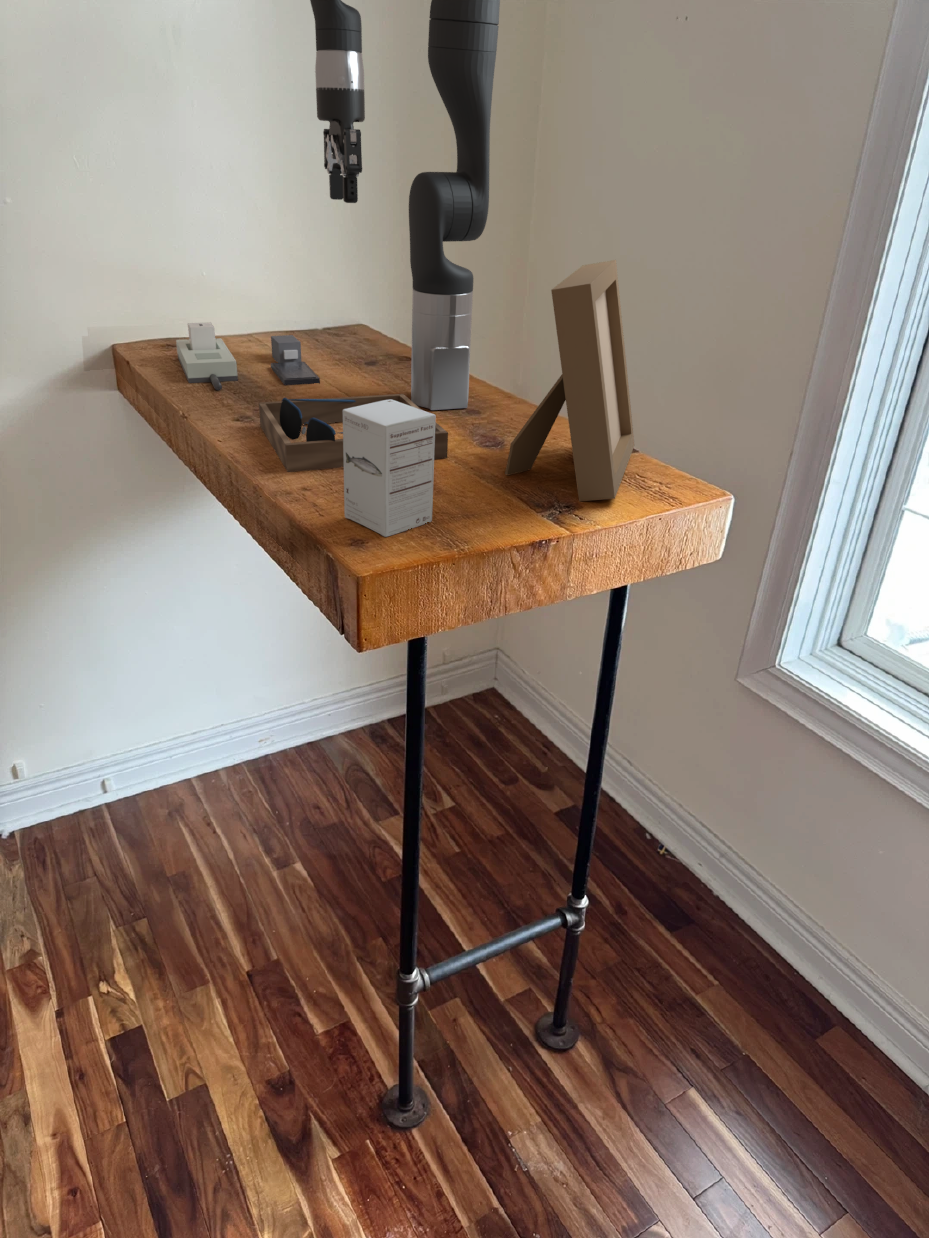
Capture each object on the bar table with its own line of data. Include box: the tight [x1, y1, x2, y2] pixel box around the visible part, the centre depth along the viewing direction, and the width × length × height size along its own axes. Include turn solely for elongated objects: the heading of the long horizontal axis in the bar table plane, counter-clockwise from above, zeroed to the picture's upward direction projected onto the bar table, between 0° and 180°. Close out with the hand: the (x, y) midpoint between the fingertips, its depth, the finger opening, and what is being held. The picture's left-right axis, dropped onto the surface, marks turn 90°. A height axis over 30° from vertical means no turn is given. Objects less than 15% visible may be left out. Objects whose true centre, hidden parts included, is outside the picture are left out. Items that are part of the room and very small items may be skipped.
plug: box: [270, 334, 302, 363], centre depth 162 cm, size 7×4×4 cm, turn 24°
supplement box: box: [342, 399, 437, 538], centre depth 97 cm, size 7×7×13 cm
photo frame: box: [504, 259, 635, 502], centre depth 111 cm, size 15×22×25 cm
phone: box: [270, 361, 321, 386], centre depth 154 cm, size 12×6×1 cm, turn 21°
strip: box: [175, 337, 239, 391], centre depth 152 cm, size 24×8×4 cm, turn 21°
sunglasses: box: [280, 397, 356, 442], centre depth 123 cm, size 17×15×5 cm
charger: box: [187, 321, 216, 350], centre depth 156 cm, size 4×4×6 cm
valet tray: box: [258, 393, 449, 473], centre depth 123 cm, size 20×22×4 cm
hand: (343, 201), depth 146 cm, fingers open, 8 cm apart
